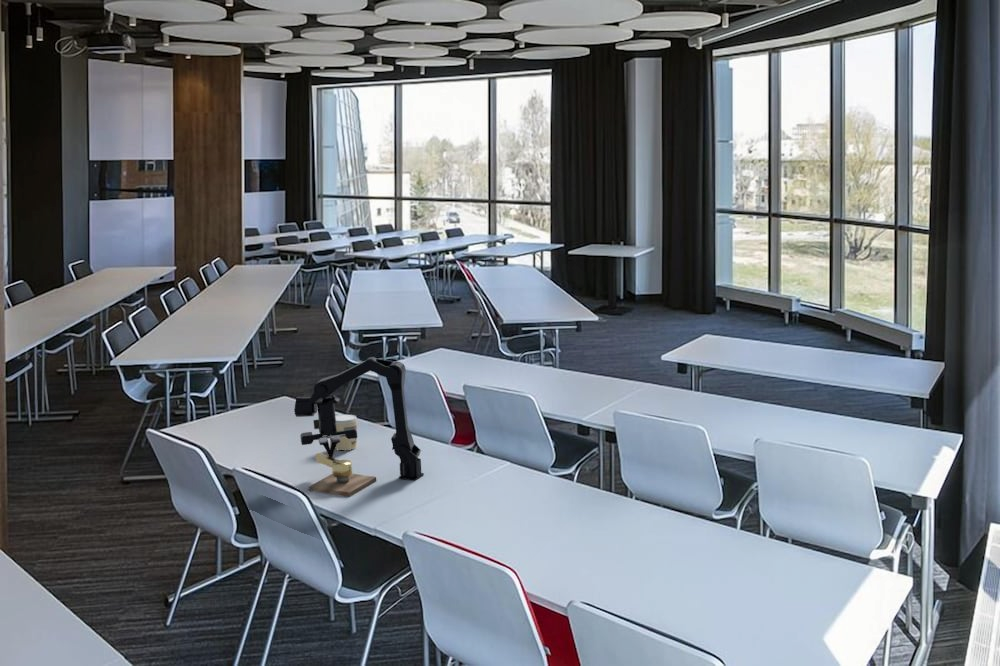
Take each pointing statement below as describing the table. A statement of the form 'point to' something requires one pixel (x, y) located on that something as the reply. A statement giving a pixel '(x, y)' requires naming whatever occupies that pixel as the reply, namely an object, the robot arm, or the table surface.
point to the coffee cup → (341, 423)
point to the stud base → (342, 484)
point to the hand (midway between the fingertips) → (331, 459)
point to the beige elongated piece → (336, 465)
